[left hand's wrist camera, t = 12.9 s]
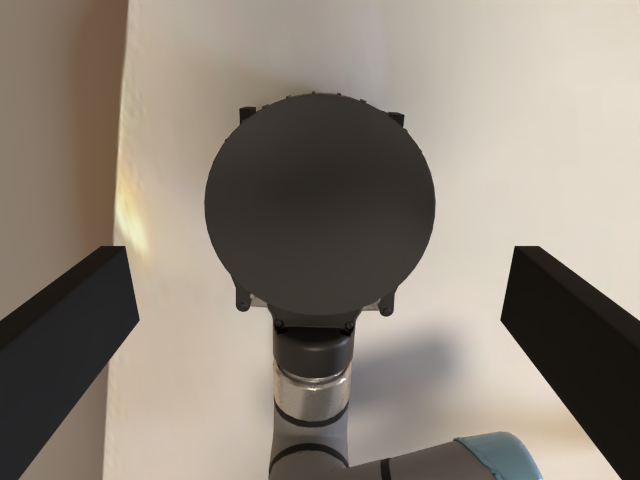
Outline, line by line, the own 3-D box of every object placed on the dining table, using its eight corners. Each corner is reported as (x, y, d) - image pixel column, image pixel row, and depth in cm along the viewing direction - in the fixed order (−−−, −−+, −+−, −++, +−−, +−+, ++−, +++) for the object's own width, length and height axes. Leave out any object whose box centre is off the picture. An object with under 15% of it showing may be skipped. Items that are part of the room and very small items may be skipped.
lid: (386, 312, 24) (393, 336, 22) (200, 269, 23) (187, 289, 21) (457, 126, 20) (474, 132, 18) (235, 63, 19) (224, 60, 17)
